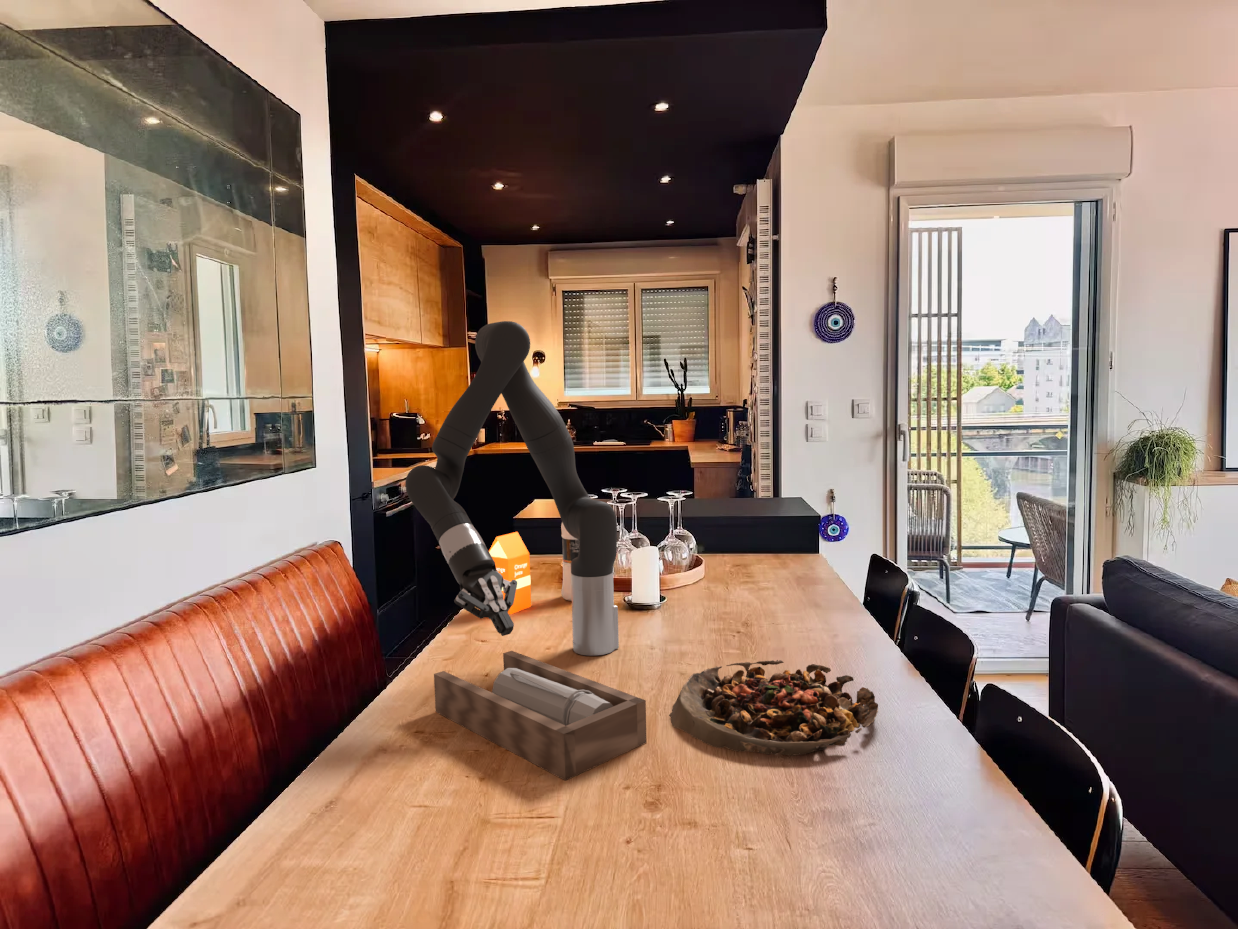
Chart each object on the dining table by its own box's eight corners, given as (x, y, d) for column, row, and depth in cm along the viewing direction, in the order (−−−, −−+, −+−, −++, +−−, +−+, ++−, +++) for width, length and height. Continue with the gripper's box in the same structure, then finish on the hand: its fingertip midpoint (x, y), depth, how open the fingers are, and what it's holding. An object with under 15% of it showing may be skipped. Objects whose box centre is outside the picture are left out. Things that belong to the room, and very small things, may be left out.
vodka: (584, 591, 222) (581, 487, 219) (601, 598, 214) (598, 490, 211) (555, 597, 217) (552, 490, 214) (572, 604, 209) (569, 493, 206)
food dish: (878, 696, 145) (880, 656, 144) (875, 785, 114) (877, 734, 113) (694, 672, 156) (694, 634, 155) (645, 747, 125) (645, 700, 124)
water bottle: (528, 685, 145) (625, 721, 127) (499, 716, 140) (596, 758, 123) (507, 648, 141) (605, 681, 124) (477, 679, 136) (574, 717, 119)
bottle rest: (435, 712, 139) (433, 673, 138) (512, 685, 151) (511, 650, 150) (565, 780, 113) (564, 734, 113) (646, 742, 125) (645, 700, 124)
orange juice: (531, 606, 207) (529, 532, 206) (510, 614, 200) (507, 538, 198) (509, 602, 212) (506, 530, 210) (487, 610, 204) (484, 535, 202)
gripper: (442, 547, 137) (484, 629, 129) (504, 536, 146) (547, 612, 138) (427, 572, 141) (468, 653, 133) (488, 560, 150) (529, 635, 142)
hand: (508, 632), depth 136 cm, fingers closed
